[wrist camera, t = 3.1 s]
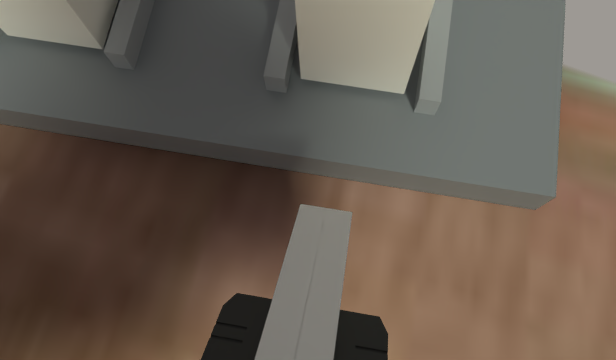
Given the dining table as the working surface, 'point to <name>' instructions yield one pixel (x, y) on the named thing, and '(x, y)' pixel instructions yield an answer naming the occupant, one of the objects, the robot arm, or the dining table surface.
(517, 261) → the dining table surface
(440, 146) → the switch bank
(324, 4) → the tab right
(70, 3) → the tab left
